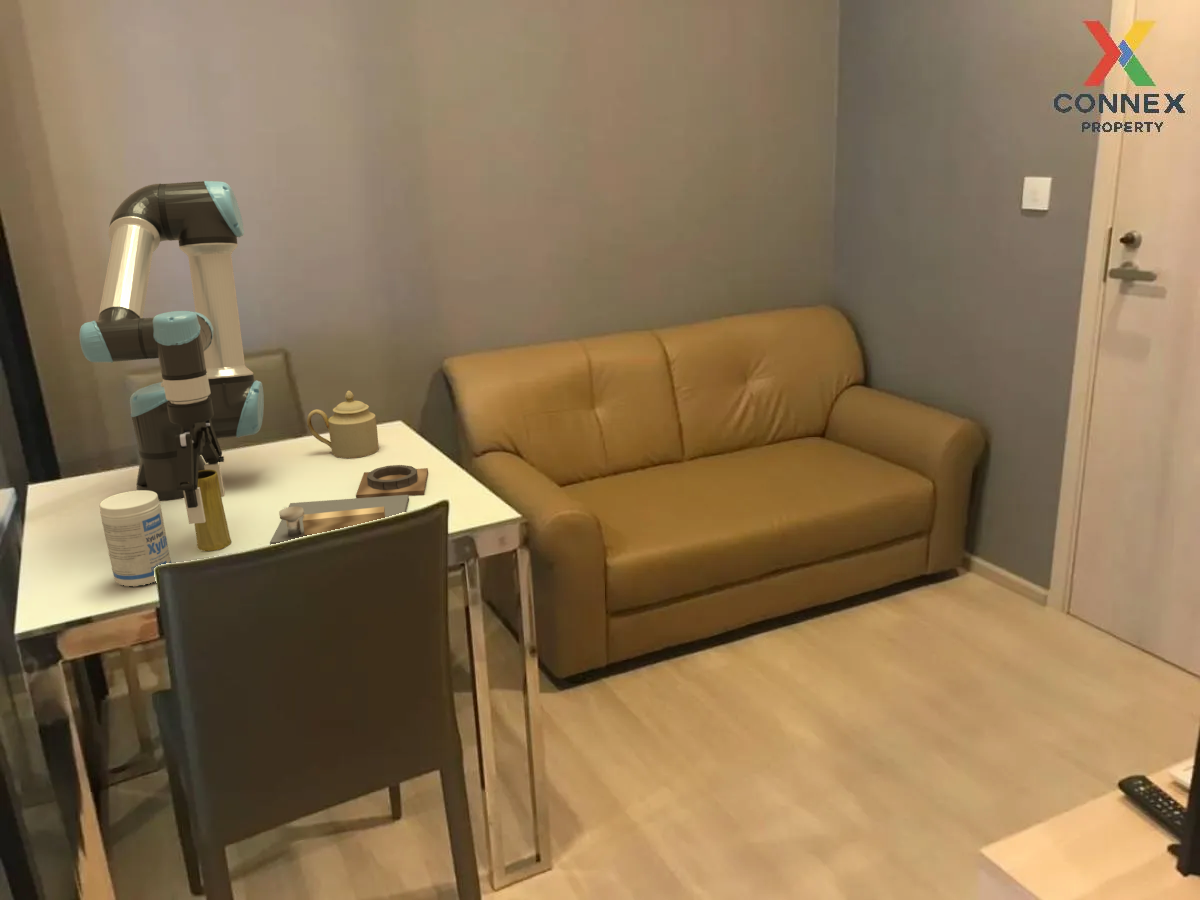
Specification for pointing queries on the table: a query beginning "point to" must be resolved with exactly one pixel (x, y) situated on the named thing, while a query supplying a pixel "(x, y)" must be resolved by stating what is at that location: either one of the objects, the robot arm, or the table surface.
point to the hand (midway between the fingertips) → (207, 509)
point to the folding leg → (331, 518)
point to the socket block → (393, 482)
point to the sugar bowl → (349, 429)
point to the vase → (211, 514)
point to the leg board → (389, 503)
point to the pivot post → (293, 527)
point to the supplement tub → (134, 536)
